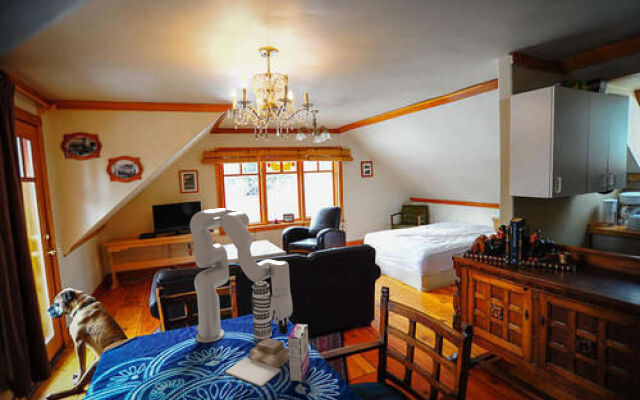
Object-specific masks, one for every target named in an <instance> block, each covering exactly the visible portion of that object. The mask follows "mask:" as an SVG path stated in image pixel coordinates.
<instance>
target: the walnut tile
mask: <svg viewBox="0 0 640 400" xmlns="http://www.w3.org/2000/svg"><path fill="white" fill-rule="evenodd" d="M256 346H257V350H259V351H262V352H266V353H269V354H272V355H276V354H277V353H279V352H280V351H281V350H283V349H284V348H285V342H284V341H280V340H277V339H273V338H270V337H269V338H265V339H261V341H260V342H258V343H256Z"/></svg>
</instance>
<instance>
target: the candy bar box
mask: <svg viewBox="0 0 640 400" xmlns="http://www.w3.org/2000/svg"><path fill="white" fill-rule="evenodd" d="M287 342H288V343H287V344H288V348H287V349H289V360H288V363H289V381H292V382H300V383H301V382H303V381H304V380H305V379H304V378H305V377H306V374H307V371H308V370H309V367H310V349H309V329H308V324H305V323H304V324H303V323H296V324H295V325H294V327H293V329H292V330H291V332H290V334H289V335H288V337H287Z"/></svg>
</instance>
